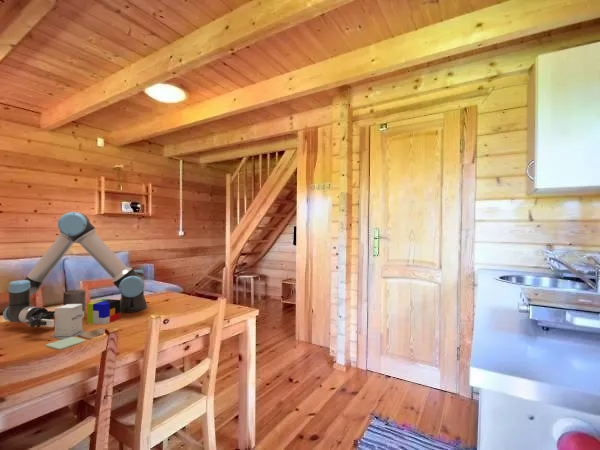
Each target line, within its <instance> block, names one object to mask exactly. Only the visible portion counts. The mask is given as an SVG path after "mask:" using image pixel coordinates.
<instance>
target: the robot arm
mask: <svg viewBox="0 0 600 450" xmlns="http://www.w3.org/2000/svg"><path fill="white" fill-rule="evenodd" d="M57 228H58V230H59V235H58V236H57V237H56V239H55V240H54V241H53V243H52V244H51V245H50V246H49V247H48V249H47V250H46V252H45V253H43V256H42V257H40V259H39V260H38V261H37V263H36V264H35V265H34V267H33V268H32V269H31V270H30V272H28V274H27V276H26V277H25V278H24V279H21V280H19V279H17V280H14V281H12V280H11V281H10V282H9V284H8V289H7V290H8V306H7V307H6V308H5V309H4V311H3V313H2V316H3V318H4V319H5V321H8V322H12V323H24V324H28V325H29V327H30V328H35V326H36V328H37V329H38V328H41V326H42V327H50V328H53V327H54V328H55V310H48V309H47V308H46V307H39V306H31V296H32V295H34V294H37V292H39V289H40V287H41V286H42V285H43V283H44V282H45V280H46V279H48V277H49V276H50V274H51V273H52V271H54V269H55V268H56V267H57V266H58V264H59V263H60V262H61V260H62V259H63V258H64V256H65V255H66V254H67V252H68V251H69V250H70V249H71V247H72V246H73V245H74V244H79V245H80V246H81V247H82V248H83V249H84V250H85V251H86V252H87V254H89V255H90V256H91V258H93V259H94V260H95V261H96V262H97V263H98V265H100V267H102V268H103V270H104V271H105V272H106V273H107V274H108V275H109V276H110V277H111V278H112V284H113V285H114V286H115V287H116V288H117V289H118V291H119V293H120V299H119V300H120V313H134V312H140V311H143V310H146V309H147V308H148V304H147V301H146V298H145V296H144V293H145V291H144V288H145V281H144V279H145V278H144V277H145V273H144V270H143V269H134V268H133V267H128V266H127V265H125V263H124V262H123V261H122V260H121V259H120V258H119V256H117V254H115V252H114V251H113V250H112V249H111V248H110V247H109V246H108V245H107V244H106V243H105V242H104V241H103V240H102V238H101V237H100V236H99V235H97V233H96V232H97V231H96V230H97V229H96V227H95V226H94V225H93V224H92V223H91V220H90V219H89V218H88V216H87V215H85V214H83V213H81V212H78V211H77V212H76V211H71V212H70V211H69V212H67V213H64V214H63V215H61V216H60V218H59V219H58V221H57ZM83 318H85V315H84V311H82V319H83Z"/></svg>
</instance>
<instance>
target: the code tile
mask: <svg viewBox="0 0 600 450" xmlns="http://www.w3.org/2000/svg"><path fill="white" fill-rule="evenodd" d="M86 332H87V331H85V330H82V331H80V332H78V333H76V334H74V335H72V336H55V333H54V334H50V337H52V338H56V339H59V340H63V339H66V338H69V337H76V336H77V337H78V335H79V334H83V333H86Z"/></svg>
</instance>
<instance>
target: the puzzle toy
mask: <svg viewBox="0 0 600 450" xmlns="http://www.w3.org/2000/svg"><path fill="white" fill-rule="evenodd" d="M86 311H87V316H86V317H87V319H86V320H87V322H86V323H87V324H90V325H106V324H109V323H112V322H114V321H117V320H120V319H121V312H120V299H113V298H112V299H111V298H110V299H109V298H104V299H100V300H95V301H92V302H89V303H87V310H86Z"/></svg>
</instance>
